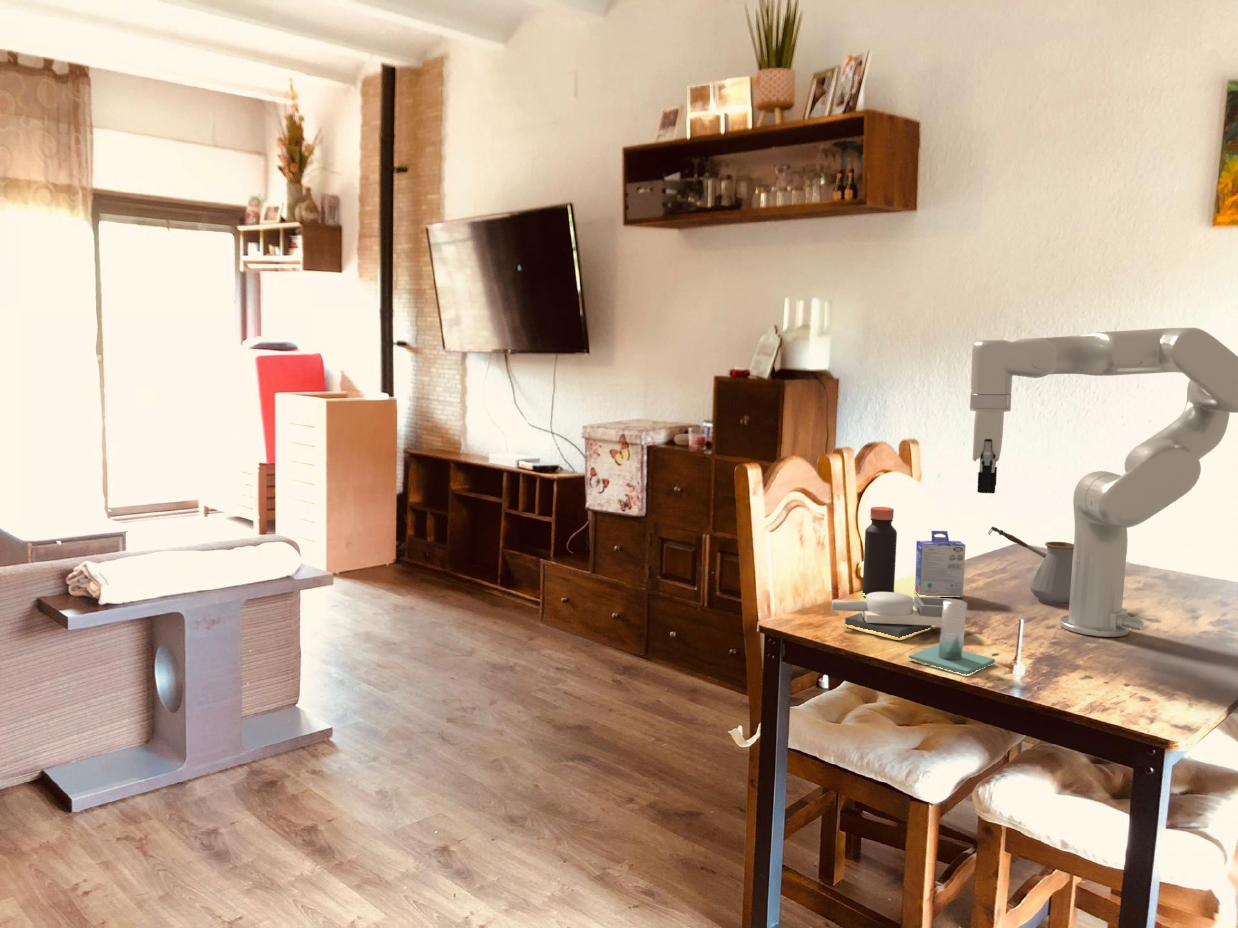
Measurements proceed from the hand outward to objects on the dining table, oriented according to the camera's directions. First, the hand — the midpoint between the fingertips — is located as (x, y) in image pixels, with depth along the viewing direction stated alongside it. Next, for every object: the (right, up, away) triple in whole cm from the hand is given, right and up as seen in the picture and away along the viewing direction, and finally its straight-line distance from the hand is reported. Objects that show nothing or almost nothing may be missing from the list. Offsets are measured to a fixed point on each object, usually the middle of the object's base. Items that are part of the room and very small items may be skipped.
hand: (986, 489), depth 197 cm
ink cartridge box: (-1, -25, +26) cm, 36 cm away
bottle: (-15, -25, +24) cm, 38 cm away
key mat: (-14, -30, -21) cm, 39 cm away
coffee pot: (+20, -25, +26) cm, 41 cm away
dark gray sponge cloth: (-20, -28, -1) cm, 34 cm away
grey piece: (-14, -29, -21) cm, 39 cm away
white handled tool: (-19, -25, -1) cm, 32 cm away
